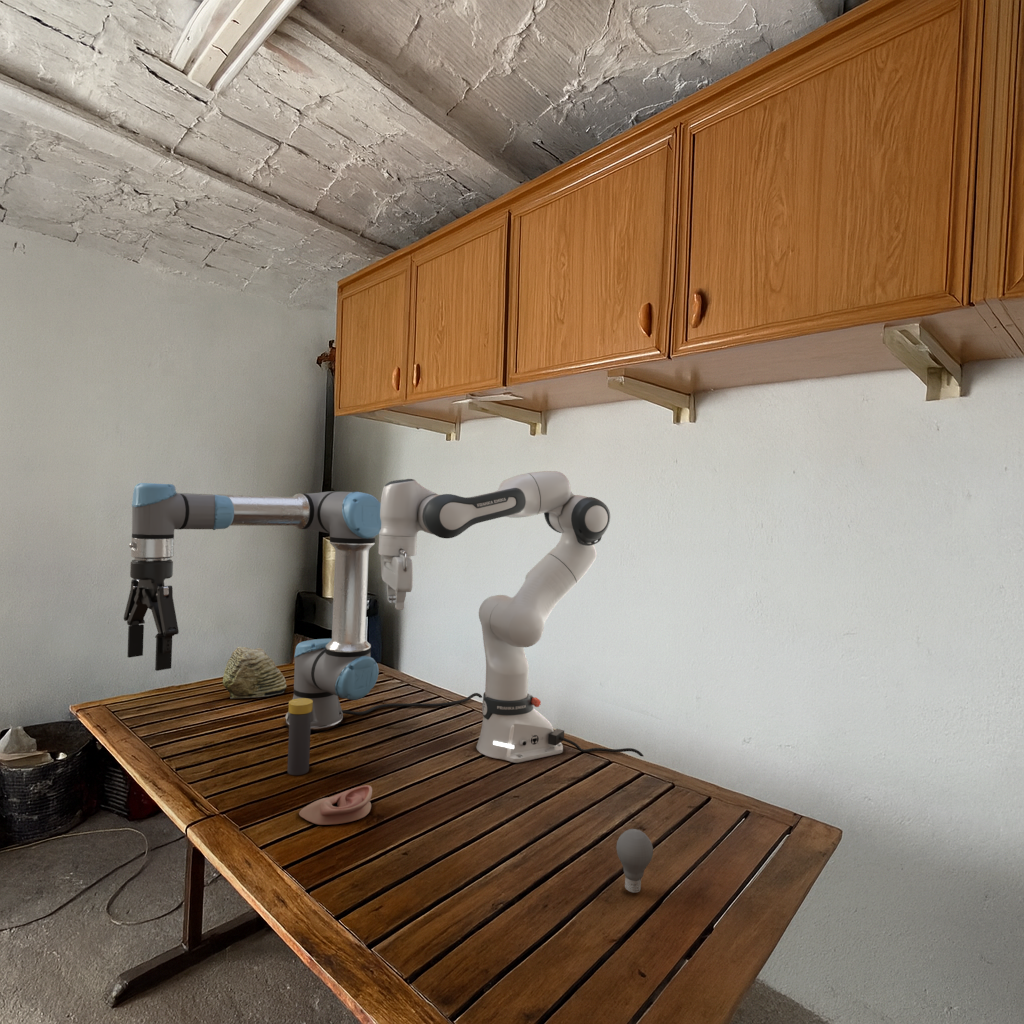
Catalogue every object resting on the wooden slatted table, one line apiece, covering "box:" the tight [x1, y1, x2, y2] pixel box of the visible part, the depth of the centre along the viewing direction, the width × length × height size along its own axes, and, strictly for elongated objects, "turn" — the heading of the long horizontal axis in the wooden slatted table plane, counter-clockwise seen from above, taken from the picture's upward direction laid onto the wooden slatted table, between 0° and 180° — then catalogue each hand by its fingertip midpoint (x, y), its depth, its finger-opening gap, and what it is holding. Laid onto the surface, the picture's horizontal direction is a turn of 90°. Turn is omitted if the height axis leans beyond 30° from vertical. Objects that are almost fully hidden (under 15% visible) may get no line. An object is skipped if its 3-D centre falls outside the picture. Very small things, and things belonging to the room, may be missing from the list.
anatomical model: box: [298, 784, 373, 826], centre depth 127 cm, size 13×4×12 cm
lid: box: [287, 698, 313, 714], centre depth 145 cm, size 5×5×2 cm
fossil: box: [222, 646, 288, 699], centre depth 198 cm, size 9×18×15 cm, turn 132°
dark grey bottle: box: [286, 712, 311, 776], centre depth 146 cm, size 5×5×16 cm
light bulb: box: [615, 828, 654, 894], centre depth 106 cm, size 6×6×10 cm
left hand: (148, 662), depth 129 cm, fingers open, 13 cm apart
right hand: (395, 605), depth 150 cm, fingers open, 8 cm apart
